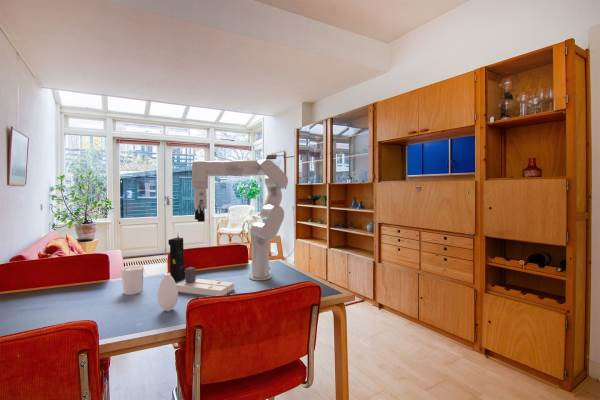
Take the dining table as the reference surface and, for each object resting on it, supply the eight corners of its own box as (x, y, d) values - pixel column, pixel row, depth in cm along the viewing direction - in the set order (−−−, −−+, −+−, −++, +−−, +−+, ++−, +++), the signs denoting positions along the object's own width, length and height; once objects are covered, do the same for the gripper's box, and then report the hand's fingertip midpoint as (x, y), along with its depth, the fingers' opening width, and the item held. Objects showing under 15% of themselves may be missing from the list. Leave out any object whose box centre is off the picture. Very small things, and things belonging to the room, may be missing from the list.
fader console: (189, 285, 164) (189, 277, 164) (234, 290, 156) (234, 282, 156) (174, 292, 152) (173, 284, 152) (221, 299, 144) (220, 289, 144)
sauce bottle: (157, 315, 126) (156, 271, 125) (158, 308, 134) (157, 266, 133) (178, 312, 130) (177, 269, 129) (177, 305, 137) (177, 264, 136)
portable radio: (177, 282, 169) (177, 235, 168) (167, 281, 170) (166, 235, 169) (185, 277, 177) (185, 233, 175) (176, 277, 178) (175, 233, 177)
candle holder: (148, 290, 156) (148, 266, 155) (130, 296, 147) (130, 271, 147) (135, 287, 160) (134, 264, 160) (117, 293, 151) (116, 268, 151)
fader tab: (190, 285, 159) (190, 266, 158) (195, 286, 158) (195, 267, 157) (185, 288, 155) (185, 269, 154) (190, 289, 154) (190, 269, 154)
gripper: (211, 186, 148) (210, 222, 149) (204, 185, 164) (204, 218, 165) (194, 185, 145) (193, 222, 146) (189, 185, 161) (189, 218, 161)
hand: (199, 220), depth 155 cm, fingers open, 9 cm apart
